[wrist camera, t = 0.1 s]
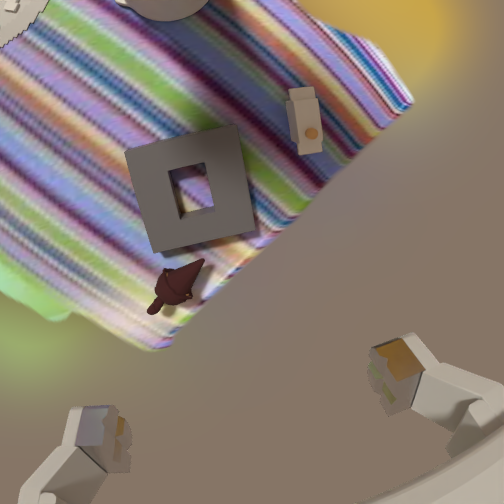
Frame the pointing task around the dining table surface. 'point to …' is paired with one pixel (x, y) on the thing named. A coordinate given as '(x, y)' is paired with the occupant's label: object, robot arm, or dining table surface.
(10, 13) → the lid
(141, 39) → the dining table surface
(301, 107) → the servo
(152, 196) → the grey board with hole
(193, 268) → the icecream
